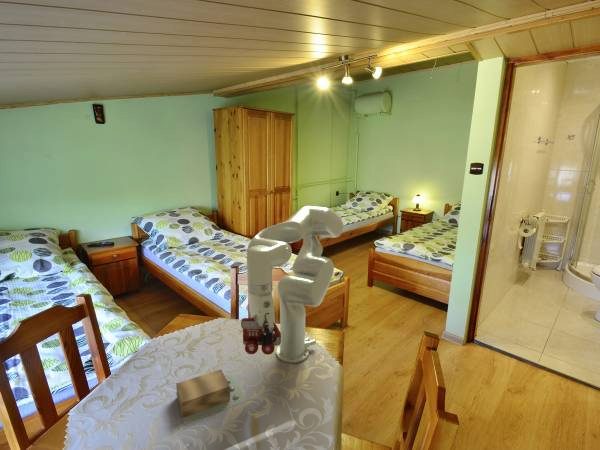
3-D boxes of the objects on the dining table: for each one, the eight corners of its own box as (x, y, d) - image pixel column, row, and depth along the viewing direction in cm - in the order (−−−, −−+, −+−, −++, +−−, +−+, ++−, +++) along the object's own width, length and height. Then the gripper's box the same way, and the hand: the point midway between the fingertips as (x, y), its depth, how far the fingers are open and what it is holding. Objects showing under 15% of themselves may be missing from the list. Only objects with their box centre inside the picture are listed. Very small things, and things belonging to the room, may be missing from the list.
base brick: (221, 382, 107) (221, 369, 106) (230, 400, 99) (229, 386, 98) (177, 397, 100) (176, 383, 99) (182, 417, 92) (181, 402, 91)
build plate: (231, 377, 111) (231, 372, 111) (245, 404, 99) (245, 399, 99) (176, 395, 102) (175, 391, 102) (184, 427, 90) (184, 422, 90)
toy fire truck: (280, 355, 100) (279, 324, 97) (240, 354, 100) (238, 324, 97) (281, 342, 106) (281, 313, 104) (243, 341, 106) (242, 313, 104)
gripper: (283, 294, 93) (284, 347, 97) (260, 274, 107) (261, 321, 111) (259, 300, 89) (260, 355, 93) (238, 278, 104) (240, 327, 108)
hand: (261, 336), depth 102 cm, fingers closed on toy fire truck, 8 cm apart
